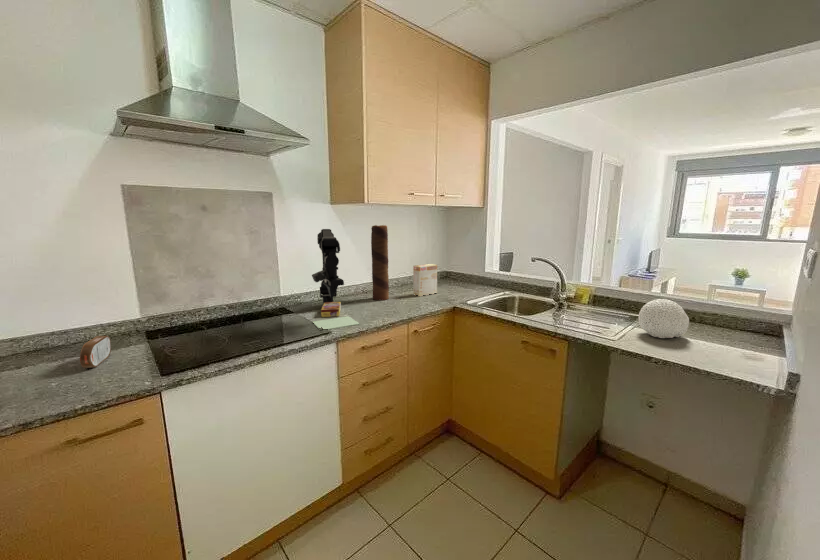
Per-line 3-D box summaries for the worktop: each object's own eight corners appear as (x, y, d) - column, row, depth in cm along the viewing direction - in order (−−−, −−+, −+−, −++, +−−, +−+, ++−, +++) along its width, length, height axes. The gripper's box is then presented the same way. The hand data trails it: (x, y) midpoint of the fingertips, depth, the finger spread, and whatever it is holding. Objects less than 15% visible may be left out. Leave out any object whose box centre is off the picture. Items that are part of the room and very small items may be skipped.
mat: (312, 322, 154) (312, 321, 154) (348, 316, 163) (348, 316, 163) (321, 330, 143) (321, 330, 142) (359, 324, 152) (359, 323, 152)
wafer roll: (375, 301, 195) (374, 225, 187) (370, 297, 204) (368, 225, 196) (391, 300, 199) (391, 225, 191) (385, 296, 208) (385, 225, 201)
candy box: (320, 308, 162) (324, 302, 177) (321, 317, 163) (324, 309, 177) (339, 308, 163) (340, 301, 178) (339, 316, 164) (341, 309, 179)
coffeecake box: (430, 292, 222) (431, 263, 219) (437, 294, 216) (437, 264, 213) (412, 294, 214) (412, 265, 210) (419, 296, 208) (419, 266, 204)
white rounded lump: (687, 327, 122) (672, 288, 130) (635, 337, 134) (624, 301, 142) (702, 340, 133) (687, 304, 141) (653, 349, 145) (642, 315, 153)
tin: (103, 355, 116) (99, 332, 115) (114, 353, 117) (111, 331, 116) (80, 373, 102) (76, 347, 101) (93, 371, 104) (89, 346, 102)
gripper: (307, 263, 156) (309, 295, 159) (318, 268, 140) (320, 304, 143) (330, 262, 161) (331, 293, 164) (343, 266, 146) (344, 300, 149)
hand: (331, 297), depth 155 cm, fingers closed
